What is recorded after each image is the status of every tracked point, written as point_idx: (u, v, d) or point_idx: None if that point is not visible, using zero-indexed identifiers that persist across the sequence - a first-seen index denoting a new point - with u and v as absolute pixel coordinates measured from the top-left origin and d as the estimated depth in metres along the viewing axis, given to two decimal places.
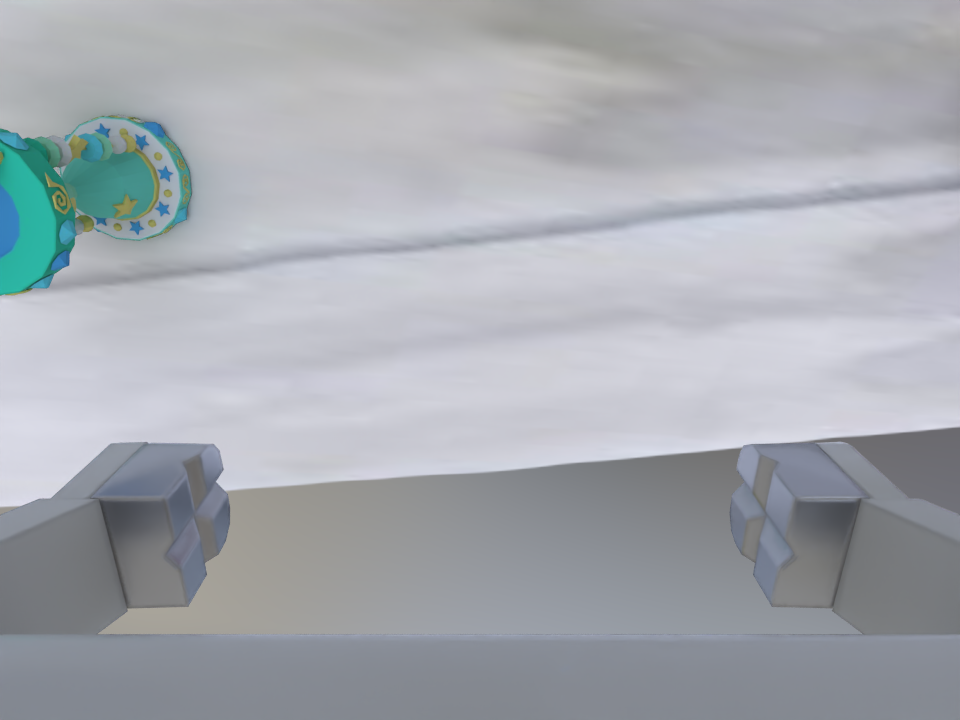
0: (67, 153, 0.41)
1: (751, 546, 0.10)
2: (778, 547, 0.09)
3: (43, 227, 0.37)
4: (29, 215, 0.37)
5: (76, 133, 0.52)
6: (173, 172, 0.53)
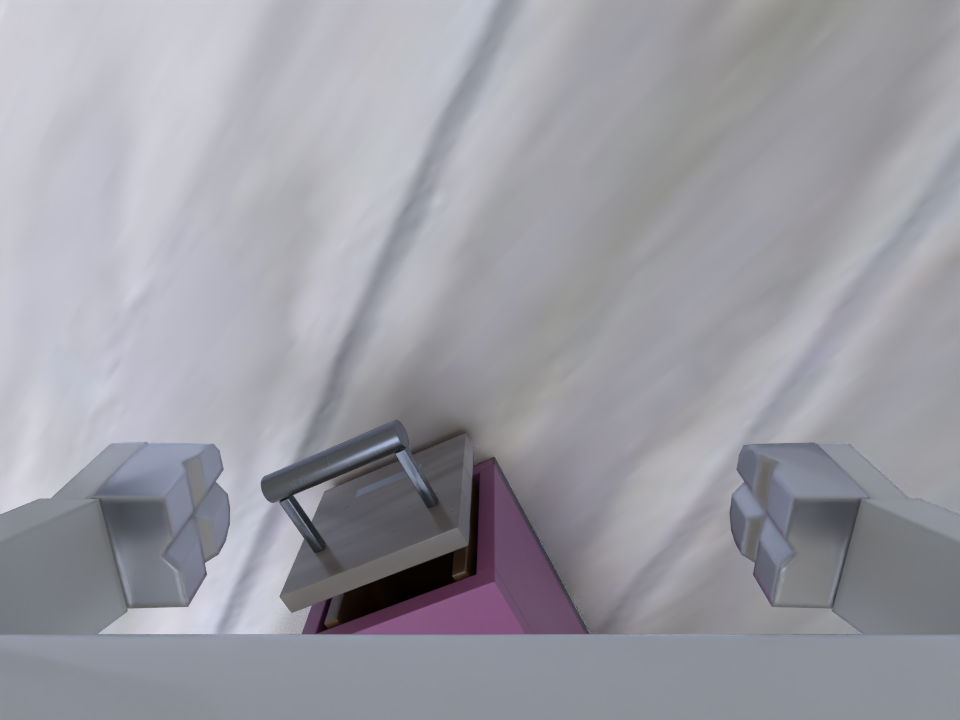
0: None
1: (751, 546, 0.10)
2: (778, 547, 0.09)
3: None
4: None
5: None
6: None
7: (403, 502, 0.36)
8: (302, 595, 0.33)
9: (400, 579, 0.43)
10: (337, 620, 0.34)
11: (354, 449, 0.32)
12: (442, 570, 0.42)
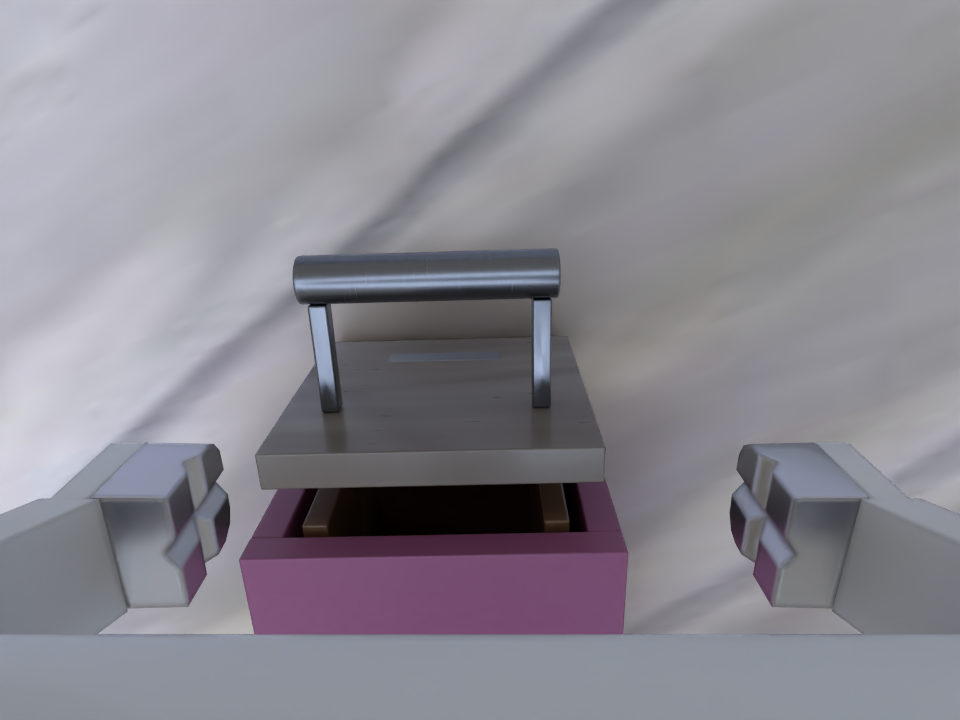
0: None
1: (751, 546, 0.10)
2: (778, 547, 0.09)
3: None
4: None
5: None
6: None
7: (482, 389, 0.22)
8: (295, 467, 0.19)
9: (380, 505, 0.29)
10: (326, 528, 0.20)
11: (480, 264, 0.19)
12: (444, 513, 0.29)
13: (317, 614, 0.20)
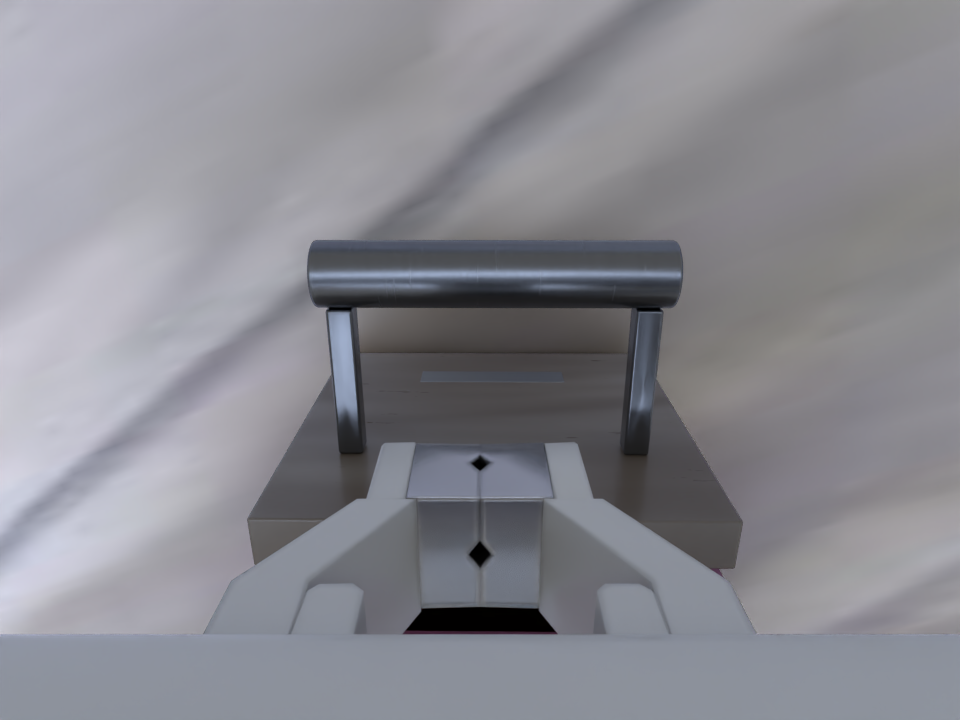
0: None
1: None
2: (485, 547, 0.09)
3: None
4: None
5: None
6: None
7: (549, 424, 0.17)
8: None
9: None
10: None
11: (571, 259, 0.14)
12: None
13: None
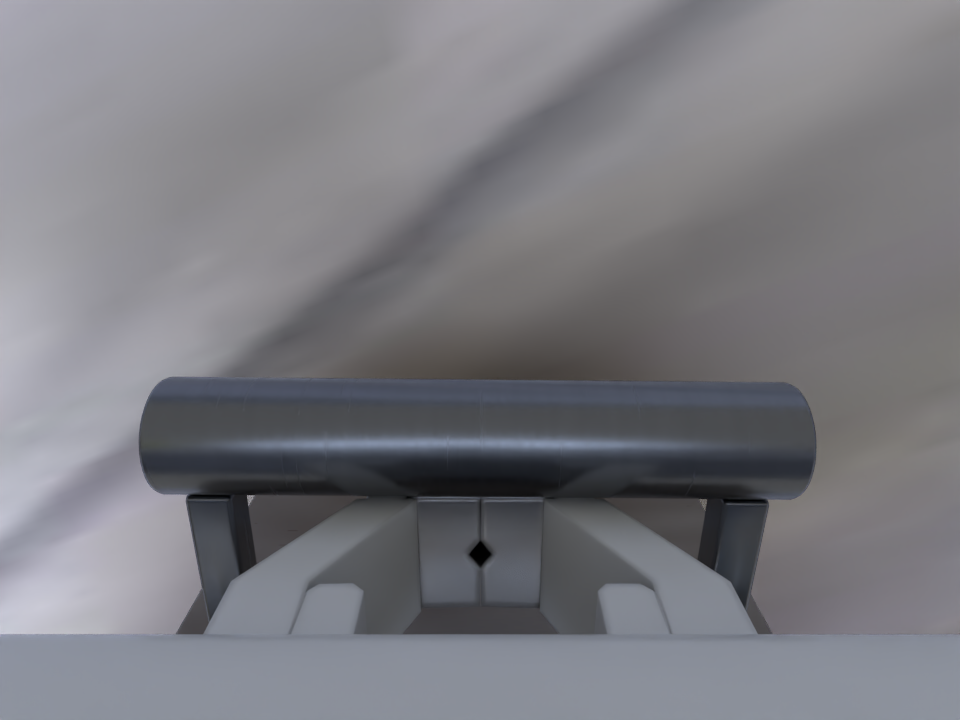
0: None
1: None
2: (486, 547, 0.09)
3: None
4: None
5: None
6: None
7: None
8: None
9: None
10: None
11: (615, 427, 0.07)
12: None
13: None
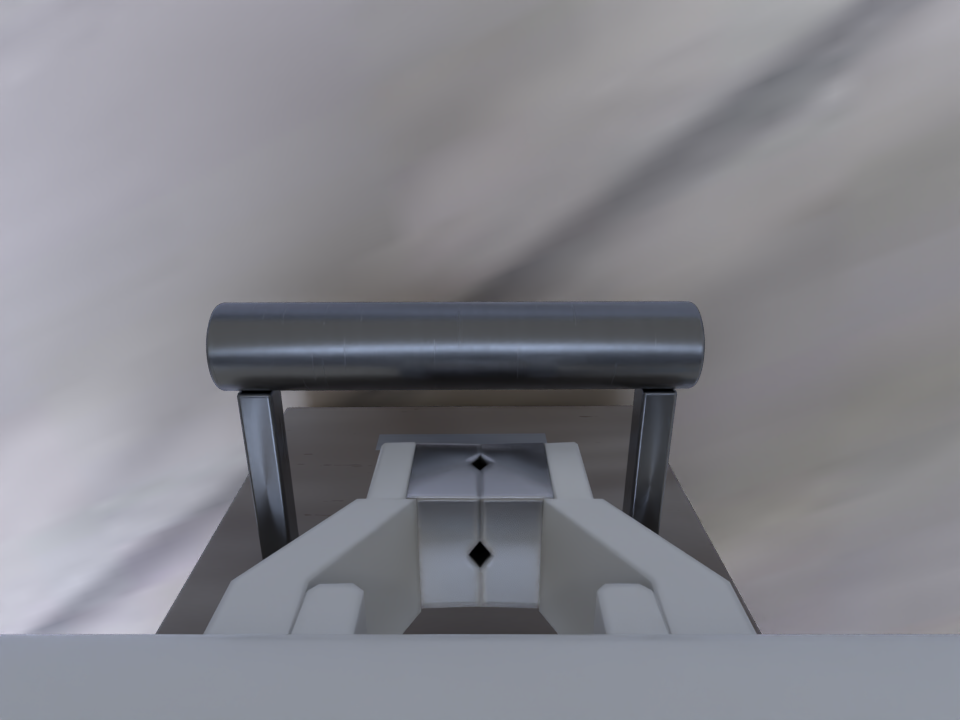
0: None
1: None
2: (485, 547, 0.09)
3: None
4: None
5: None
6: None
7: None
8: None
9: None
10: None
11: (557, 331, 0.10)
12: None
13: None
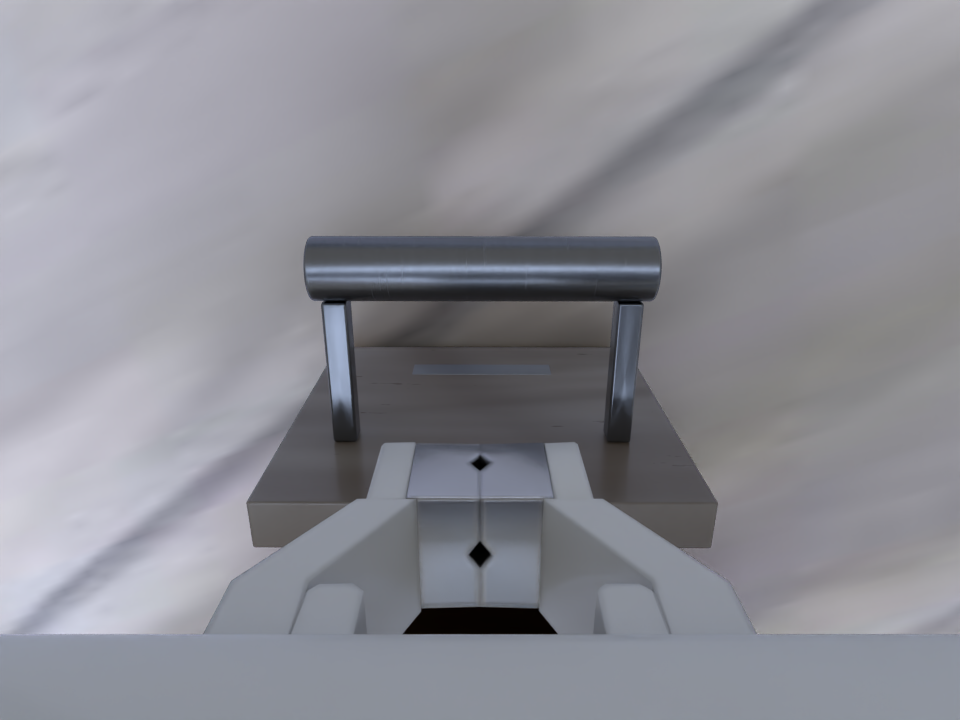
0: None
1: None
2: (485, 547, 0.09)
3: None
4: None
5: None
6: None
7: (535, 414, 0.18)
8: (300, 520, 0.14)
9: None
10: None
11: (554, 254, 0.14)
12: None
13: None
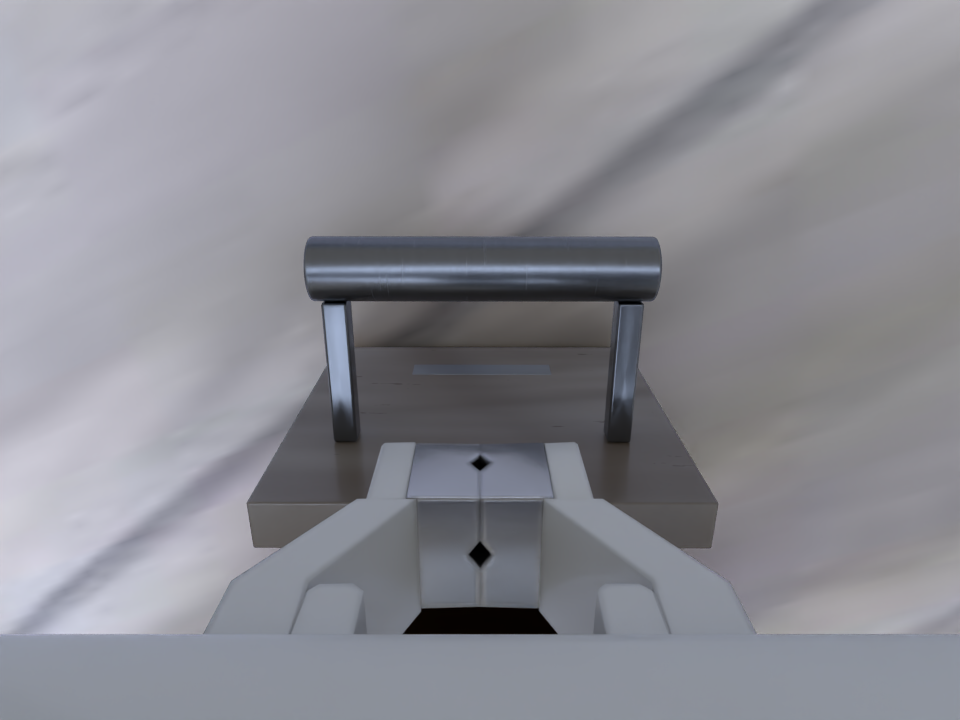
0: None
1: None
2: (485, 547, 0.09)
3: None
4: None
5: None
6: None
7: (536, 414, 0.18)
8: (300, 520, 0.14)
9: None
10: None
11: (555, 255, 0.14)
12: None
13: None
